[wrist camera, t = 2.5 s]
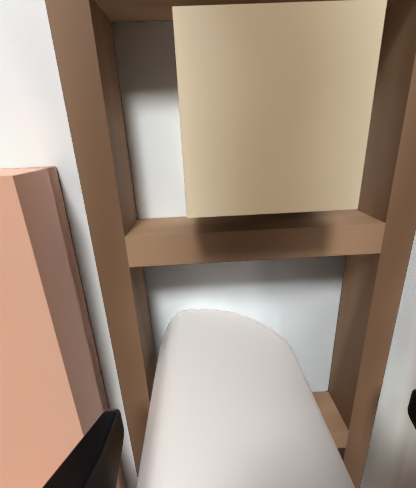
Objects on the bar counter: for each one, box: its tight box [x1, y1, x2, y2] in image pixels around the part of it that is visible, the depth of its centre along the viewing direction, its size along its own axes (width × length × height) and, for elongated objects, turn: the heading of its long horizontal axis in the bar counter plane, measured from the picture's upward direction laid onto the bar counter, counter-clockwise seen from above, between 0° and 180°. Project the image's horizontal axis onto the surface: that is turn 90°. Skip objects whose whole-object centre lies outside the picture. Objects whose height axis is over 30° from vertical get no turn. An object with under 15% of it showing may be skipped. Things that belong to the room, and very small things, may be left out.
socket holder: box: [45, 0, 416, 488], centre depth 12 cm, size 10×24×2 cm, turn 2°
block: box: [172, 0, 387, 218], centre depth 8 cm, size 4×4×4 cm
